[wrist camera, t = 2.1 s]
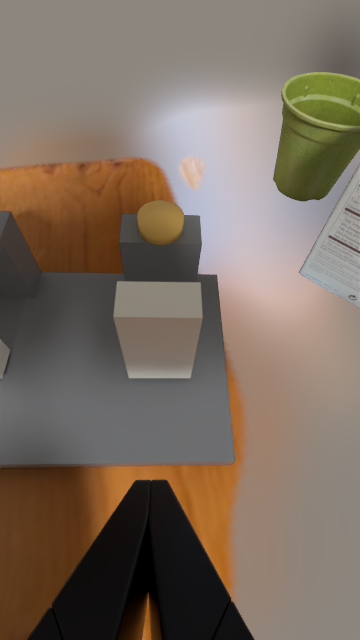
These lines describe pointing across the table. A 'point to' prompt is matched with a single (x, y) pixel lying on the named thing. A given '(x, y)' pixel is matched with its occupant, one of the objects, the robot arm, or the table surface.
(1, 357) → the cream upright block
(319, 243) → the supplement box
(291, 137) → the plant pot
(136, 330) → the tall white block
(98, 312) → the grey holder stand
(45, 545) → the table surface
